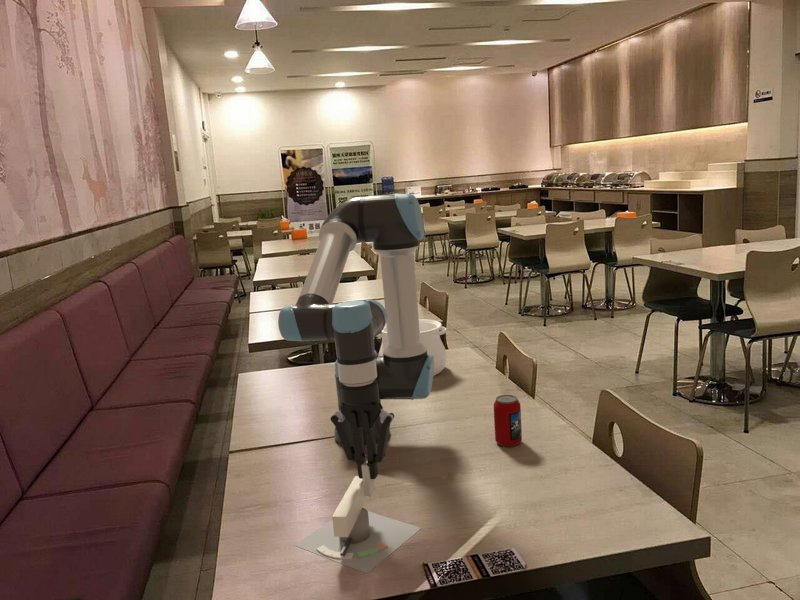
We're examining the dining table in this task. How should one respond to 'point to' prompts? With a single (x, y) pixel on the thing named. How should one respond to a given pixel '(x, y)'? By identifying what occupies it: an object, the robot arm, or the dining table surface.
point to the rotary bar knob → (352, 516)
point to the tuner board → (364, 554)
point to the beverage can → (507, 420)
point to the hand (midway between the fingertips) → (369, 492)
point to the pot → (426, 342)
